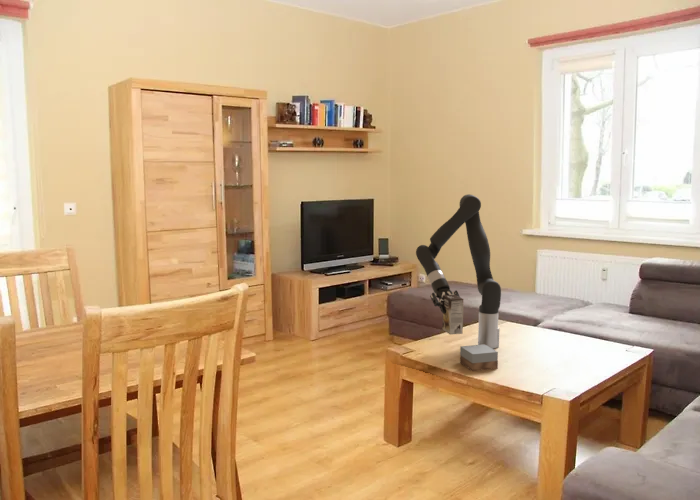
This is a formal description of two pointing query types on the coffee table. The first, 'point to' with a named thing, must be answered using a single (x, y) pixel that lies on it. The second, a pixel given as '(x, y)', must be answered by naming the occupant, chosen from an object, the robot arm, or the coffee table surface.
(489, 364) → the base slab
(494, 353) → the top slab
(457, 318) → the coffee box
